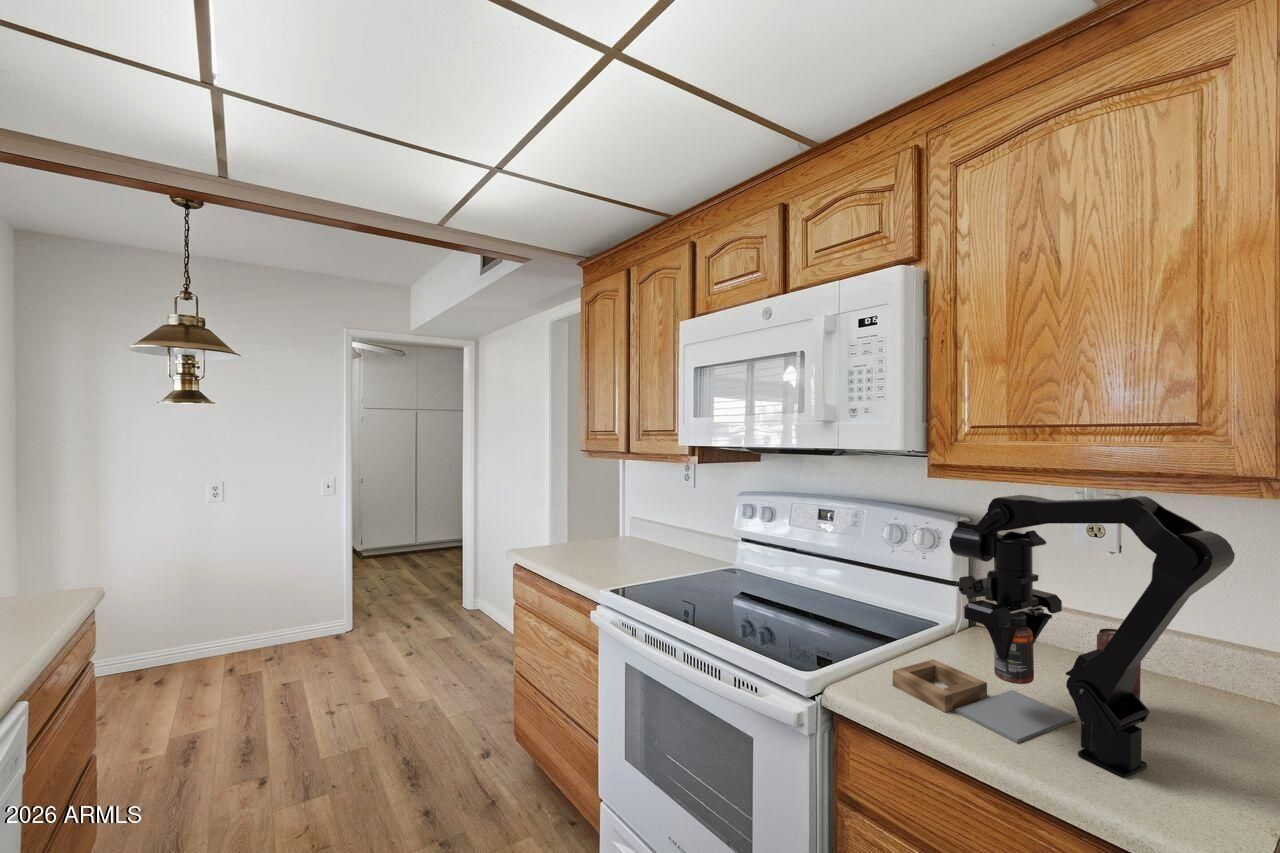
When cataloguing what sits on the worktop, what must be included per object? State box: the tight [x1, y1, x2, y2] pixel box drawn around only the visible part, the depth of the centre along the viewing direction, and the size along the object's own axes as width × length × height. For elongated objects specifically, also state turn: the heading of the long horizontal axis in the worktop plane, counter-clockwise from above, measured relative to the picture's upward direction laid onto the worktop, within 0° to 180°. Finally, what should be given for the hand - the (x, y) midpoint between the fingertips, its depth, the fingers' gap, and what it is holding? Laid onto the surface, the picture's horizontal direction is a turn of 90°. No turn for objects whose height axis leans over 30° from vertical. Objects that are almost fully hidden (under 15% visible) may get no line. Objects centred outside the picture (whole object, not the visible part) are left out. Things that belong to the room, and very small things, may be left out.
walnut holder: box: [892, 658, 988, 713], centre depth 114 cm, size 12×12×3 cm
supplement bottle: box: [993, 612, 1035, 685], centre depth 105 cm, size 6×6×11 cm
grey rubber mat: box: [954, 689, 1076, 744], centre depth 105 cm, size 11×16×1 cm
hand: (1013, 655), depth 105 cm, fingers closed on supplement bottle, 6 cm apart
